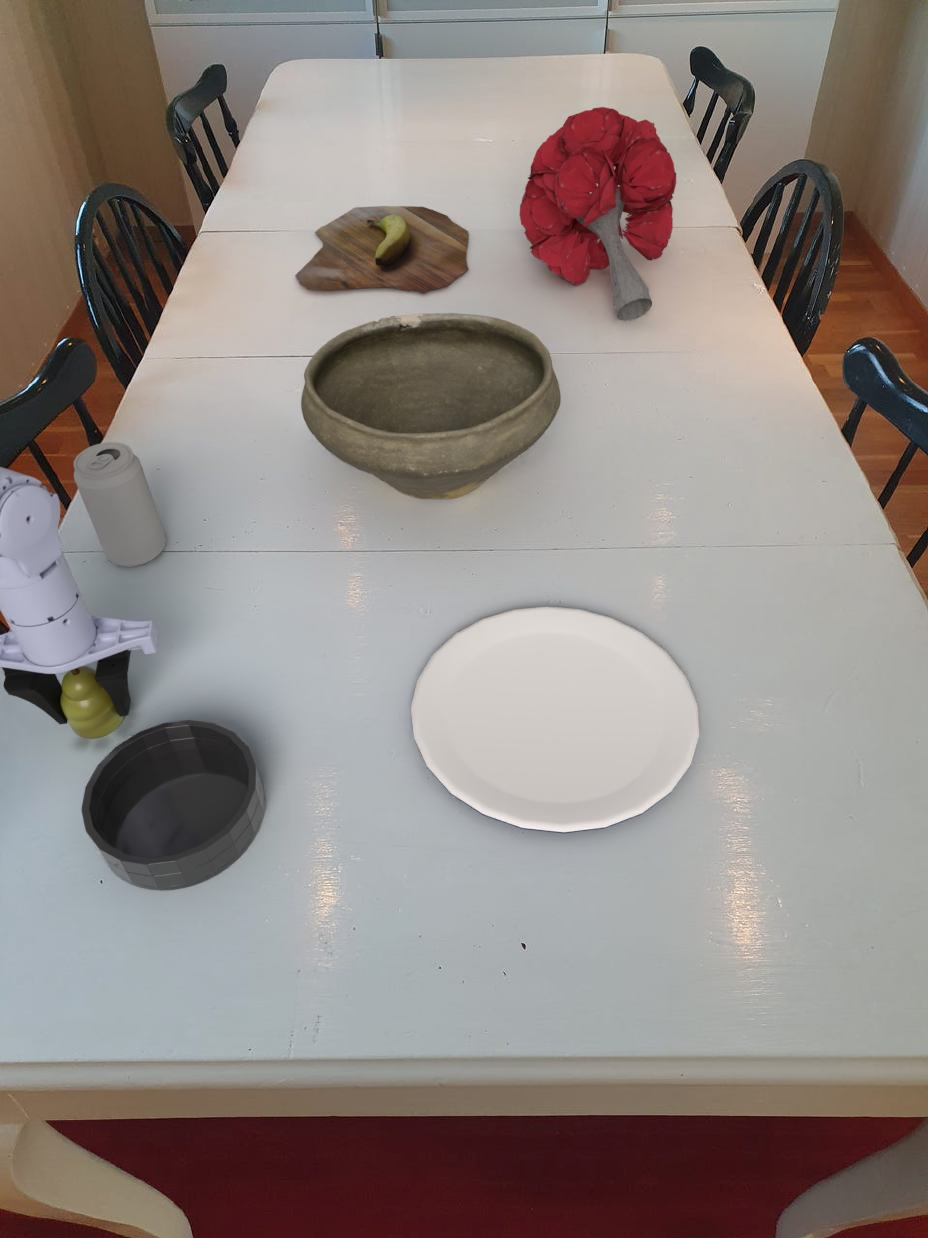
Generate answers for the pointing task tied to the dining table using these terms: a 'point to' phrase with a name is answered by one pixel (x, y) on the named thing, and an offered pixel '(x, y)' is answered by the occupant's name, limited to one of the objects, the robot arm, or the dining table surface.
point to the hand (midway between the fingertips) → (95, 711)
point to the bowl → (431, 399)
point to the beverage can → (119, 503)
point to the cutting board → (387, 250)
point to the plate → (555, 719)
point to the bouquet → (600, 201)
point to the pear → (88, 704)
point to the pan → (174, 804)
